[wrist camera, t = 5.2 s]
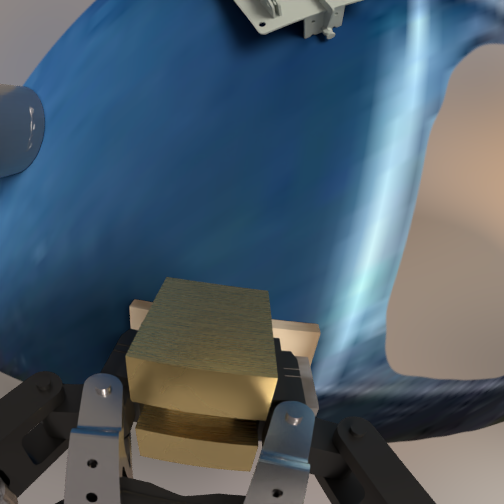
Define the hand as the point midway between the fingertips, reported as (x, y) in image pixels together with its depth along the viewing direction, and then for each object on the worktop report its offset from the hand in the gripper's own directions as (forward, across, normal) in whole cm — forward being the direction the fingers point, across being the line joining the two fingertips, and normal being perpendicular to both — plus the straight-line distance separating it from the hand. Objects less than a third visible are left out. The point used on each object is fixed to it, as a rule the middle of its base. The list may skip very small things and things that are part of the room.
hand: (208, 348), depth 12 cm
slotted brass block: (+1, 0, 0) cm, 1 cm away
